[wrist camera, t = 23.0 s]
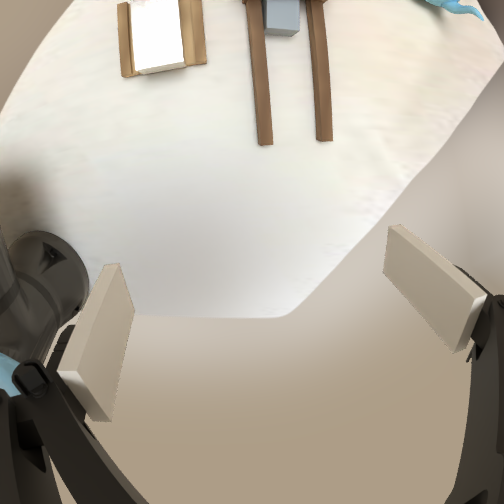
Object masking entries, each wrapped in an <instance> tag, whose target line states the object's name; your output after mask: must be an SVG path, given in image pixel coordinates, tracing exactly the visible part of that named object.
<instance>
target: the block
mask: <svg viewBox="0 0 504 504" xmlns="http://www.w3.org/2000/svg"><path fill="white" fill-rule="evenodd" d="M130 6H131V23H132V36H133V48H134V58H135V68H136V71H138V72H140V73H142V74H144V75H146V74H151V73H155V72H160V71H166V70H171V69H177V68H183V67H186V61H185V52H184V42H183V32H182V21H181V10H180V0H130Z"/></svg>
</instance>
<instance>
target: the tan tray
mask: <svg viewBox="0 0 504 504" xmlns="http://www.w3.org/2000/svg"><path fill="white" fill-rule="evenodd" d="M180 10H181V21H182V32H183V42H184V52H185V61H186V66H191V65H198V64H206V63H207V60H206V49H205V38H204V26H203V14H202V2H201V0H180ZM117 15H118V36H119V51H120V64H121V75H122V77H125V78H126V77H131V76H135V75H140V74H142V73H140V72H138V71H136V68H135V58H134V48H133V36H132V23H131V6H130V4H128V3H127V2H124V3H120V4H117Z"/></svg>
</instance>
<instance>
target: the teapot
mask: <svg viewBox="0 0 504 504" xmlns="http://www.w3.org/2000/svg"><path fill="white" fill-rule="evenodd" d="M425 1H427V2H428V3H430V4H433V5H435V6H440V7H443V8H445V9H446V10H447V11H449V12H451V13H454V14H465V13H471V14H474V15H476V16H477V17H478V18H479V19H481V20H482V21H484V19H483V17H482V15H481V14H480V12H479V11H478V10H477V9H476V8H474V7H472V6H462V5H460V4H459V3H458V1H460V0H425Z"/></svg>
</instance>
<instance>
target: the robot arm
mask: <svg viewBox="0 0 504 504" xmlns="http://www.w3.org/2000/svg"><path fill="white" fill-rule="evenodd" d="M383 273H384V274H385V276H386V277H387V278H388V279H389V280H390V281H391V282H392V283H393V284H394V285H395V287H396V288H397V289H398V290H399V291H400V292H401V293H402V294H403V295H404V297H405V298H406V299H407V300H408V301H409V302H410V303H411V304H412V306H413V307H414V308H415V309H416V310H417V311H418V312H419V314H420V315H421V316H422V317H423V318H424V319H425V320H426V322H427V323H428V324H429V325H430V326H431V328H432V329H433V330H434V331H435V332H436V334H437V335H438V336H439V337H440V338H441V340H442V341H443V342H444V343H445V345H446V346H447V347H448V348H449V349H450V351H451V352H452V353H453V354H454V353H457V352H459V351H461V350H463V349H465V348H466V346H467V344H468V342H469V340H470V337H471V338H472V339H473V340H474V342H475V343H474V345H473V347H472V349H471V351H470V354H469V356H468V358H467V360H466V362H469V360H470V358H472V362H471V363H472V369H471V370H472V371H471V387H470V398H469V408H468V416H467V424H466V431H465V438H464V443H463V449H462V454H461V459H460V464H459V468H458V473H457V477H456V481H455V485H454V488H453V490H452V492H451V494H450V495H449V497H448V498H447V500H446V502H445V504H504V295H495V296H493V295H492V294H491V293H490V292H489V291H487V290H486V289H485V288H484V287H483V286H482V285H481V284H479V283H478V282H477V281H475V279H474V278H472V277H471V276H469V274H468V273H467V272H465V271H464V270H463V269H462V268H459V267H457V266H455V265H453V264H451V263H450V262H449V261H448V260H447V259H445V258H444V257H443V256H442V255H440V254H439V253H438V252H436V251H435V250H434V249H433V248H431V247H430V246H429V245H427V244H426V243H425V242H424V241H422V240H421V239H420V238H418V237H417V236H416V235H414V234H413V233H412V232H410V231H409V230H408V229H406V228H405V227H403V226H402V225H401V224H399V225H391V226H389V227H388V236H387V245H386V253H385V261H384V268H383ZM88 287H89V285H88V276H87V272H86V269H85V267H84V265H83V263H82V261H81V259H80V257H79V256H78V255H77V253H76V252H75V251H74V250H73V248H72V247H71V246H70V245H68V244H67V243H66V242H65V241H64V240H62V239H61V238H59V237H57V236H55V235H53V234H51V233H47V232H43V231H33V232H29V233H26V234H24V235H22V236H21V237H20V238H18V239H17V240H16V241H15V242H14V243H13V244H12V245H11V247H10V248H9V250H7V247H6V244H5V241H4V237H3V234H2V230H1V227H0V504H62V502H61V498H60V495H59V492H58V488H57V485H56V481H55V478H54V474H53V470H52V466H51V462H50V458H51V459H52V461H53V463H54V465H55V467H56V469H57V471H58V472H59V474H60V476H61V478H62V480H63V481H64V483H65V485H66V487H67V488H68V490H69V491H70V493H71V495H72V496H73V498H74V499H75V501H76V503H77V504H149V503H148V502H147V501H146V500H145V499H144V498H143V497H142V496H141V494H140V493H139V492H138V491H137V490H136V489H135V488H134V486H133V485H132V484H131V483H130V482H129V481H128V479H127V478H126V477H125V476H124V474H123V473H122V472H121V471H120V470H119V468H118V467H117V466H116V464H115V463H114V462H113V460H112V459H111V458H110V457H109V455H108V454H107V452H106V451H105V450H104V449H103V447H102V446H101V444H100V443H99V441H98V440H97V439H96V437H95V436H94V434H93V433H92V431H91V430H90V428H89V427H88V425H87V424H86V423H85V422H84V419H85V415H86V413H87V414H88V415H89V417H90V418H91V419H92V421H100V422H101V421H103V422H111V421H112V415H113V409H114V404H115V398H116V393H117V388H118V382H119V377H120V373H121V368H122V363H123V358H124V354H125V350H126V345H127V341H128V337H129V332H130V328H131V324H132V320H133V316H134V312H135V310H134V307H133V304H132V301H131V298H130V295H129V292H128V289H127V286H126V283H125V280H124V277H123V274H122V270H121V267H120V264H119V263H116V264H109V265H104V267H103V269H102V271H101V273H100V275H99V277H98V279H97V281H96V283H95V285H94V287H93V289H92V291H91V293H90V295H89V297H88V299H87V301H86V304H85V306H84V308H83V310H82V312H81V314H80V316H79V319H78V321H77V323H76V325H69V326H67V328H66V329H65V330H64V331H63V332H62V333H61V335H60V337H59V339H58V341H57V344H56V346H55V348H54V352H52V355H51V357H50V359H49V362H48V364H47V366H46V368H45V367H44V365H43V363H44V361H45V359H46V356H47V354H48V351H49V349H50V347H51V344H52V342H53V340H54V338H55V335H56V333H57V331H58V329H59V328H60V327H62V326H63V325H64V324H65V323H67V322H68V321H69V320H70V319H72V318H73V317H74V316H75V315H76V314H77V313H78V312H79V311H80V310H81V308H82V306H83V304H84V302H85V300H86V297H87V294H88ZM49 456H50V458H49Z"/></svg>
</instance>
